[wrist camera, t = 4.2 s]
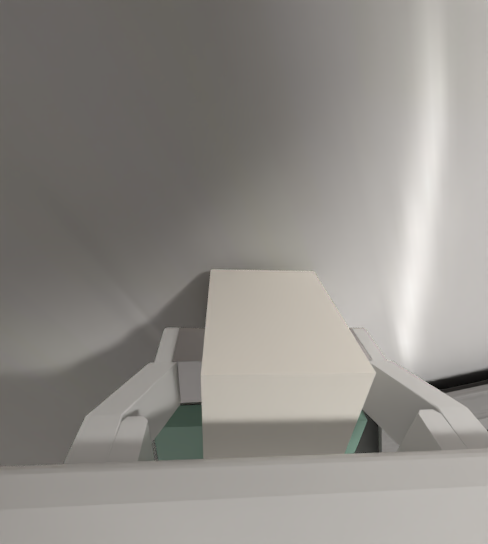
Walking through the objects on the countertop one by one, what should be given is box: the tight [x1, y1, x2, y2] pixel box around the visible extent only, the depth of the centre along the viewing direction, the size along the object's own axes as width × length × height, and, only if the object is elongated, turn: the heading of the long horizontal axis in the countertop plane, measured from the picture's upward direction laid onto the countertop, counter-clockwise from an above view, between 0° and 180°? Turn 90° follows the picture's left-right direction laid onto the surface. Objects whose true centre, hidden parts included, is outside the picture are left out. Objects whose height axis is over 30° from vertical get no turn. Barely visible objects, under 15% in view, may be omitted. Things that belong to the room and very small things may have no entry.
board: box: [155, 405, 368, 461], centre depth 17 cm, size 16×11×4 cm
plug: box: [201, 269, 376, 459], centre depth 9 cm, size 5×4×5 cm
